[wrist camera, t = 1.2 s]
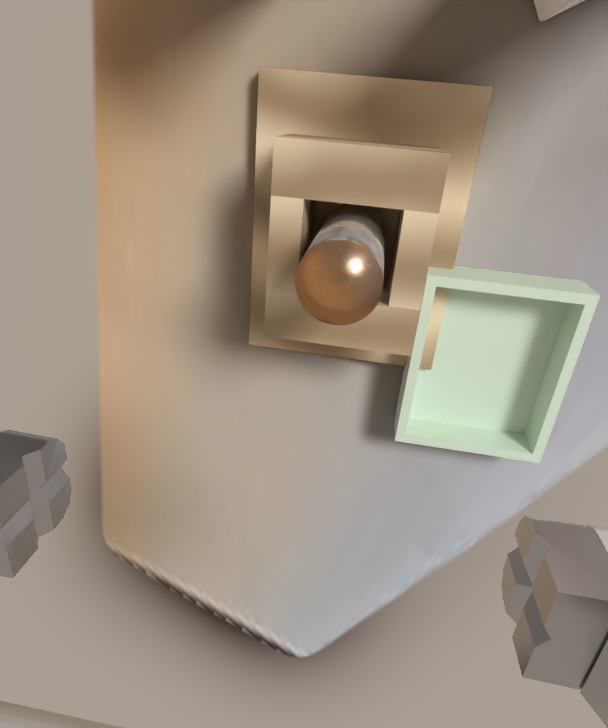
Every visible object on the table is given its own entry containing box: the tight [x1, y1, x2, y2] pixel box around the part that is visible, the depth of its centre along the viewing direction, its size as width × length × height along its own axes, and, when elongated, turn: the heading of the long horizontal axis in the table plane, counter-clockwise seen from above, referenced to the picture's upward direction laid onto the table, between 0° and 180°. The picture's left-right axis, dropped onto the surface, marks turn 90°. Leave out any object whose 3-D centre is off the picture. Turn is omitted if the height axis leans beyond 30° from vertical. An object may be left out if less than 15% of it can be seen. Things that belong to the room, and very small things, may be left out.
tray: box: [394, 266, 600, 463], centre depth 31 cm, size 11×9×3 cm
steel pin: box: [295, 203, 385, 325], centre depth 25 cm, size 4×4×10 cm
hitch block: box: [249, 67, 493, 370], centre depth 28 cm, size 16×12×6 cm
